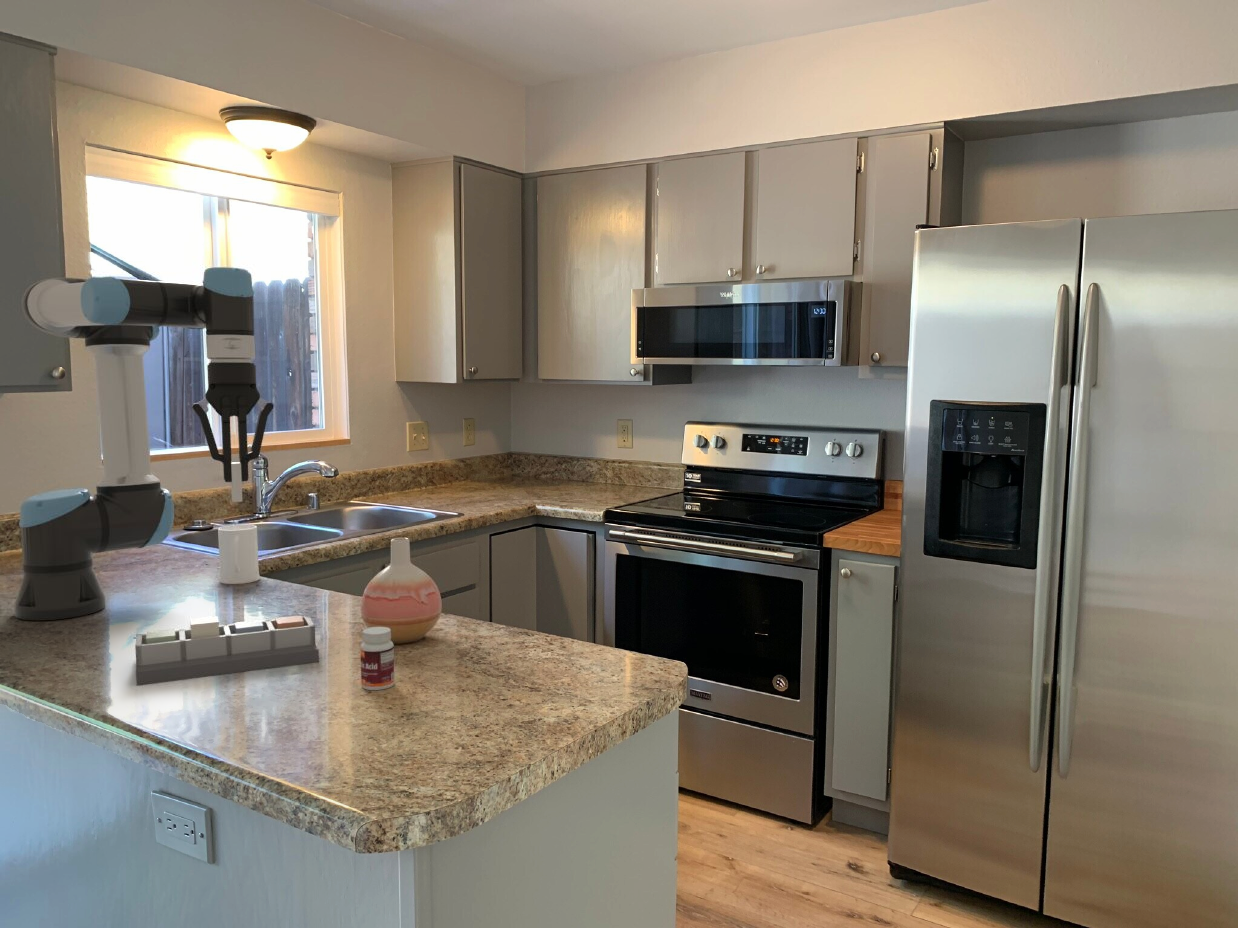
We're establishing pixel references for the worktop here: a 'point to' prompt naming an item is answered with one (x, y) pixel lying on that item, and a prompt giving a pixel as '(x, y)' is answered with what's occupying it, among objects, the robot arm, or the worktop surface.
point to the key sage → (160, 636)
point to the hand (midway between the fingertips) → (237, 500)
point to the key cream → (204, 627)
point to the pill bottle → (377, 659)
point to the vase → (401, 598)
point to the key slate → (248, 626)
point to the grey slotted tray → (224, 652)
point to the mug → (238, 554)
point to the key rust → (288, 622)
